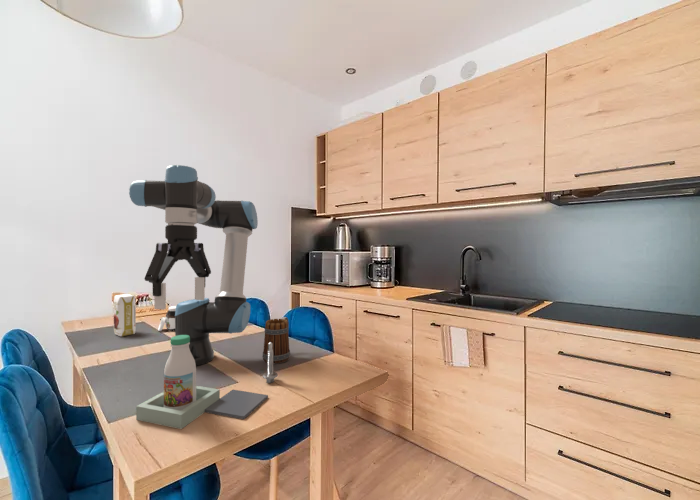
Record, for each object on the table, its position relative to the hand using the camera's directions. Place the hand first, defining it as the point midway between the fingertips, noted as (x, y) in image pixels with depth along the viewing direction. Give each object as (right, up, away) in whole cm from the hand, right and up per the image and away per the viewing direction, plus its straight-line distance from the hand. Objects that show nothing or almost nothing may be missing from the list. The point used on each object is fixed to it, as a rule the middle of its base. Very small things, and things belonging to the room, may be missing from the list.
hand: (181, 304), depth 85 cm
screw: (+19, -29, +19) cm, 39 cm away
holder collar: (-1, -29, +1) cm, 29 cm away
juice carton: (-64, -27, +69) cm, 98 cm away
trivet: (+14, -29, +4) cm, 32 cm away
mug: (+17, -28, +41) cm, 53 cm away
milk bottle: (-1, -29, +1) cm, 29 cm away
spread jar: (-46, -27, +78) cm, 94 cm away
